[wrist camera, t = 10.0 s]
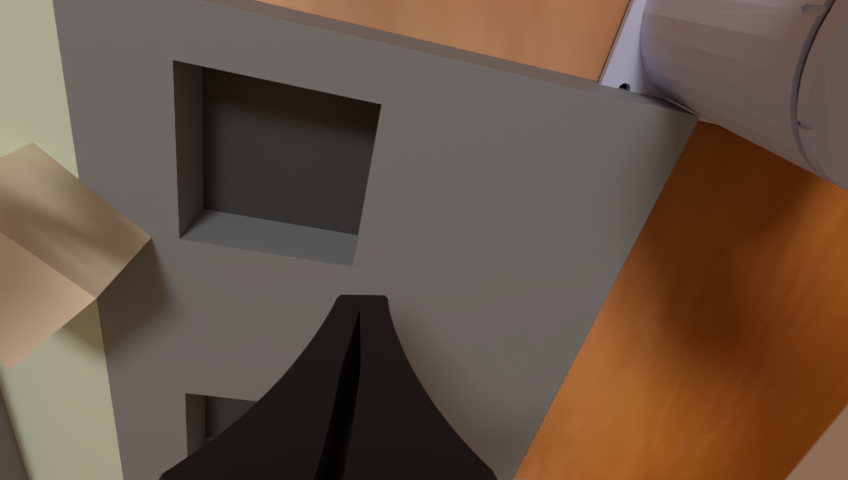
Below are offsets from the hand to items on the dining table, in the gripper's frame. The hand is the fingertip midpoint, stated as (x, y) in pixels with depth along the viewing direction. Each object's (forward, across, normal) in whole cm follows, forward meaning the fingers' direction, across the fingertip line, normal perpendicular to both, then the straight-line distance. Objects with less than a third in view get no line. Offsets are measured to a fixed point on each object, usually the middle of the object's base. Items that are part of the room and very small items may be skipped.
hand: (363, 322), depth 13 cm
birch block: (+6, +12, +1) cm, 14 cm away
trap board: (+9, +4, +6) cm, 12 cm away
